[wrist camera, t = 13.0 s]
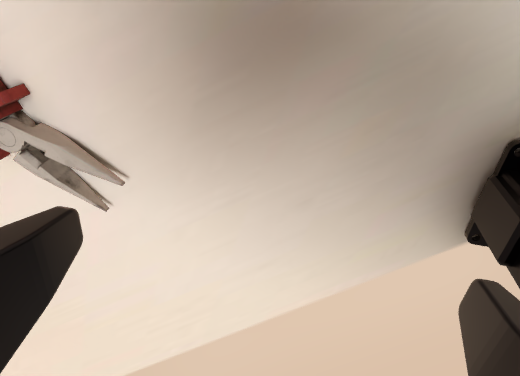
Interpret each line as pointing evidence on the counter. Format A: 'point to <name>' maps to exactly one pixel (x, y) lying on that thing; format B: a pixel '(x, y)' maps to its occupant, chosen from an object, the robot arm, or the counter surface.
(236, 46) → the counter surface
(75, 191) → the pliers
